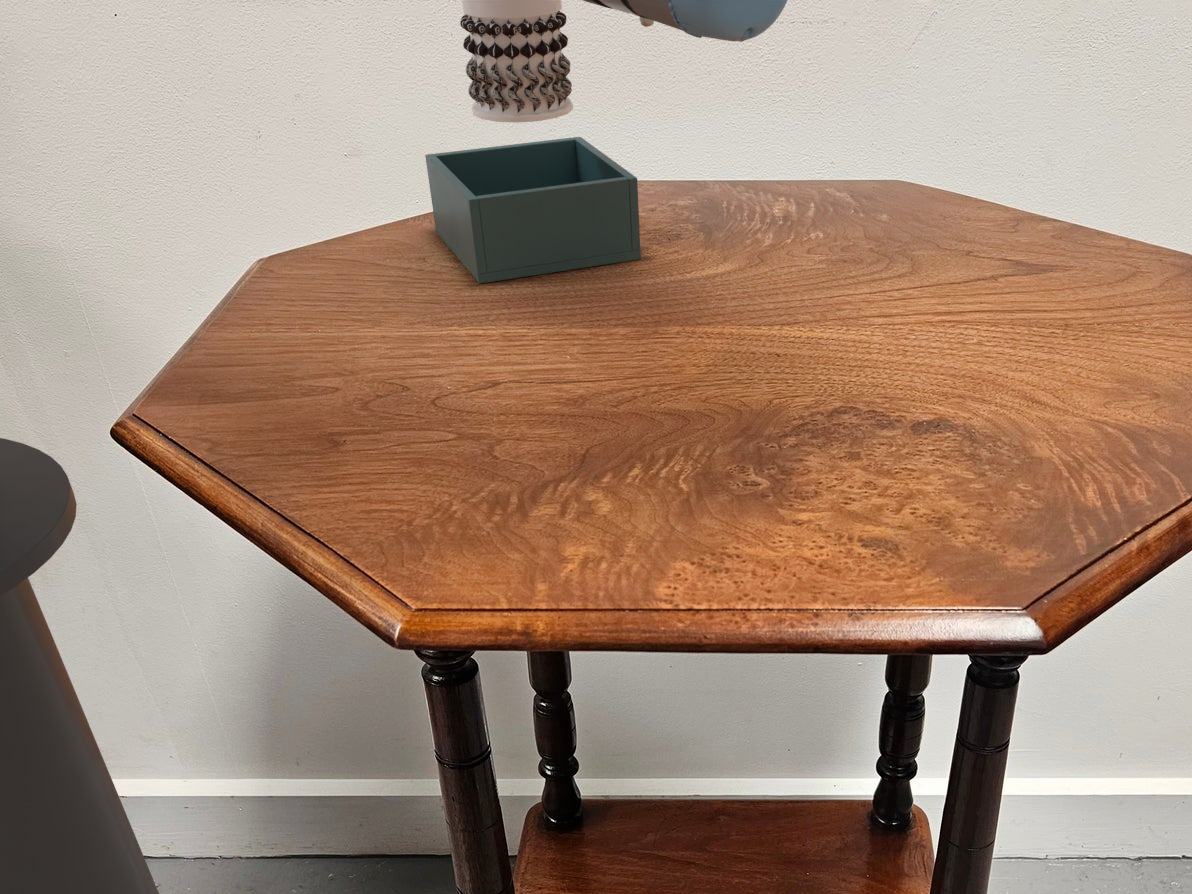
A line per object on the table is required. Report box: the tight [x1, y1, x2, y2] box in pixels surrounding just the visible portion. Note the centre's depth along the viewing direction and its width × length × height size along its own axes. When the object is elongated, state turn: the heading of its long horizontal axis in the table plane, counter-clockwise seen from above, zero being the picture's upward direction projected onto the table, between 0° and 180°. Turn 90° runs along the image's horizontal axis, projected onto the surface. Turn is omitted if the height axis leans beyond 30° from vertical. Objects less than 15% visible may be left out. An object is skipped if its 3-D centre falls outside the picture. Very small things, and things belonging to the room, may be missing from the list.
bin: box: [424, 136, 642, 285], centre depth 110 cm, size 15×15×7 cm
